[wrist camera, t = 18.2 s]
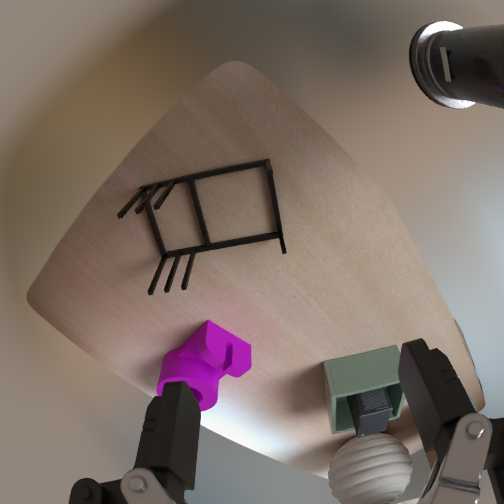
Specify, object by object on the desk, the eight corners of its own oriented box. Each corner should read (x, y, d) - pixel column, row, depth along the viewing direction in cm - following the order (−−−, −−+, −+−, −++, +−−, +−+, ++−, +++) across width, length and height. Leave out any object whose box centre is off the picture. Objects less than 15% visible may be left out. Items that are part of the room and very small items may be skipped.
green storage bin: (396, 344, 52) (411, 376, 45) (388, 388, 58) (399, 417, 52) (323, 361, 53) (331, 396, 46) (325, 403, 60) (331, 434, 53)
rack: (269, 158, 37) (276, 179, 29) (282, 234, 41) (291, 272, 33) (140, 186, 38) (114, 214, 30) (163, 256, 43) (146, 296, 35)
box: (372, 388, 57) (386, 431, 47) (345, 394, 57) (356, 438, 48) (376, 363, 53) (393, 409, 44) (346, 369, 53) (360, 417, 44)
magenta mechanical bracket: (198, 391, 56) (195, 418, 51) (153, 367, 53) (146, 394, 48) (254, 347, 51) (255, 376, 45) (204, 317, 48) (199, 346, 42)
